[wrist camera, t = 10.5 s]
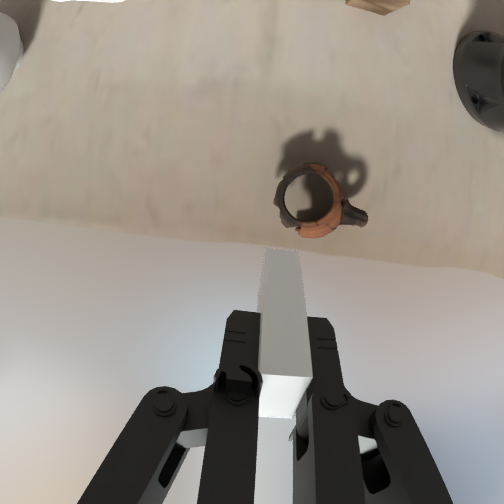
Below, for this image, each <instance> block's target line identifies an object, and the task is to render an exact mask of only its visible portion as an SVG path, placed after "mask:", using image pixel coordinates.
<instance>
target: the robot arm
mask: <svg viewBox="0 0 504 504" xmlns="http://www.w3.org/2000/svg"><path fill="white" fill-rule="evenodd" d="M453 68H454V79H455V84H456V88H457V91H458V94H459V96H460V99H461V101H462V103H463V105H464V106H465V108H466V110H467V111H468V112H469V114H470V115H471V116H472V117H473V118H474V119H475V120H476V121H477V122H479V123H480V124H482V125H484V126H486V127H488V128H491V129H494V130H497V131H504V36H501V35H499V34H497V33H494V32H489V31H478V32H472V33H470V34H468V35H466V36H465V37H464V38H463V39H462V40H461V41H460V43H459V44H458V46H457V49H456V52H455V56H454V66H453ZM295 413H296V425H295V427H294V429H293V431H292V432H291V434H290V436H289V441H292V440H293V504H453V502H452V500H451V497H450V495H449V493H448V490H447V488H446V486H445V483H444V481H443V479H442V477H441V474H440V472H439V470H438V468H437V466H436V464H435V461H434V459H433V457H432V455H431V453H430V451H429V448H428V447H427V444H426V442H425V440H424V438H423V436H422V434H421V432H420V430H419V428H418V426H417V424H416V422H415V420H414V418H413V416H412V414H411V412H410V410H409V409H408V408H407V407H406V405H404V404H403V403H401V402H400V401H396V400H386V401H384V402H382V403H381V404H380V405H379V406H377V405H374V404H370V403H366V402H363V401H360V400H358V399H356V398H354V397H353V396H351V394H350V393H349V391H348V390H347V389H346V388H345V386H344V383H343V378H342V372H341V366H340V360H339V354H338V350H337V343H336V337H335V332H334V328H333V326H332V325H331V324H330V322H329V321H328V320H327V318H318V317H307V314H306V306H305V297H304V289H303V281H302V273H301V265H300V257H299V252H298V251H290V250H281V249H273V248H265V252H264V259H263V266H262V272H261V279H260V286H259V292H258V306H257V313H256V312H248V311H239V310H234V311H233V312H232V313H231V314H230V316H229V317H228V318H227V322H226V328H225V334H224V340H223V346H222V352H221V358H220V364H219V369H217V371H216V373H215V375H214V383H213V384H212V385H210V386H209V387H208V388H206V389H204V390H201V391H197V392H189V393H181V392H179V391H178V390H176V389H175V388H171V387H166V386H164V387H156V388H154V389H152V390H150V391H149V392H148V393H147V394H146V395H145V396H144V397H143V399H142V400H141V402H140V403H139V405H138V407H137V408H136V410H135V411H134V413H133V414H132V416H131V418H130V419H129V421H128V422H127V424H126V426H125V427H124V429H123V430H122V432H121V433H120V435H119V437H118V438H117V440H116V441H115V443H114V445H113V446H112V448H111V449H110V451H109V453H108V454H107V456H106V457H105V459H104V461H103V462H102V464H101V466H100V467H99V469H98V470H97V472H96V474H95V475H94V477H93V479H92V480H91V482H90V483H89V485H88V487H87V488H86V490H85V491H84V493H83V495H82V496H81V498H80V500H79V501H78V503H77V504H162V503H163V501H164V499H165V497H166V495H167V493H168V491H169V489H170V487H171V485H172V483H173V481H174V479H175V477H176V475H177V473H178V471H179V469H180V467H181V465H182V463H183V461H184V459H185V457H186V455H187V453H188V451H189V449H190V448H191V447H199V446H205V452H204V459H203V465H202V472H201V479H200V486H199V494H198V500H197V504H254V490H255V474H256V456H257V437H258V417H259V416H260V417H274V418H293V417H294V415H295Z"/></svg>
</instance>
